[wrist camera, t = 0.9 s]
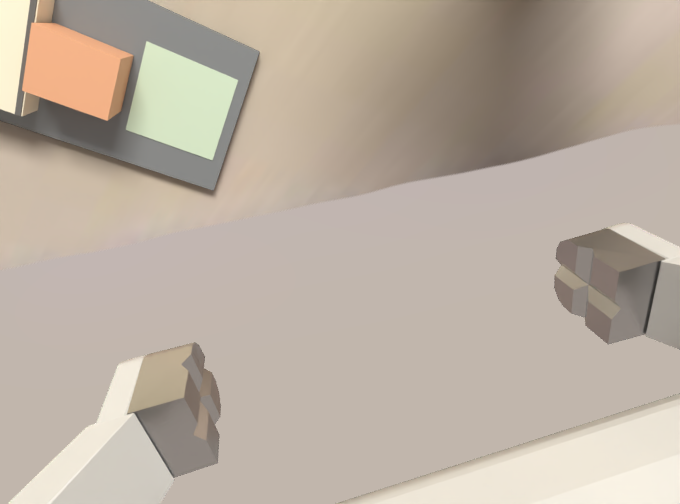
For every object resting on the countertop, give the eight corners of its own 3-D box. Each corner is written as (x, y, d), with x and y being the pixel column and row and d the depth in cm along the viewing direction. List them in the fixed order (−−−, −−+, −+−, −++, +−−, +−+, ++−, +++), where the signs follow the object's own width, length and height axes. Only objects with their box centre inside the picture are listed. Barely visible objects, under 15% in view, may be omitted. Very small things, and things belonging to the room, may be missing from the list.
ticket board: (-204, -161, 29) (-268, -187, 25) (259, 51, 40) (260, 53, 36) (-195, 52, 34) (-247, 55, 30) (214, 187, 45) (211, 201, 41)
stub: (55, 22, 35) (31, 22, 31) (133, 55, 37) (120, 58, 33) (45, 83, 37) (22, 90, 33) (120, 111, 39) (107, 120, 35)
